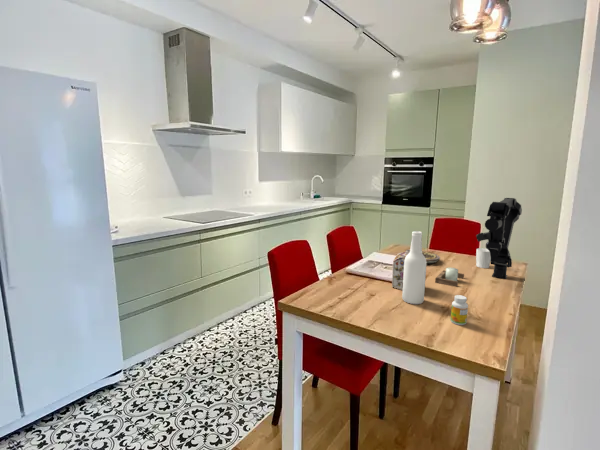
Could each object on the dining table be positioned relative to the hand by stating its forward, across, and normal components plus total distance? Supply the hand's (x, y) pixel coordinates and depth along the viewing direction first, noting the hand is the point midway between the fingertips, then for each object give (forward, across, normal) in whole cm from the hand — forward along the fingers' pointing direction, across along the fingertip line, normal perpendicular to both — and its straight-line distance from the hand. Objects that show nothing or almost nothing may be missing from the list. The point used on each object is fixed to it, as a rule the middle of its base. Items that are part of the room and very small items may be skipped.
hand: (493, 259), depth 164 cm
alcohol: (+12, +46, -24) cm, 53 cm away
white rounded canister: (+12, +8, -17) cm, 22 cm away
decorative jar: (+12, +31, -31) cm, 45 cm away
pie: (+13, -20, -40) cm, 46 cm away
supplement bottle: (+12, +56, -4) cm, 57 cm away
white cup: (+12, -29, -8) cm, 32 cm away
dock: (+12, +8, -18) cm, 23 cm away
